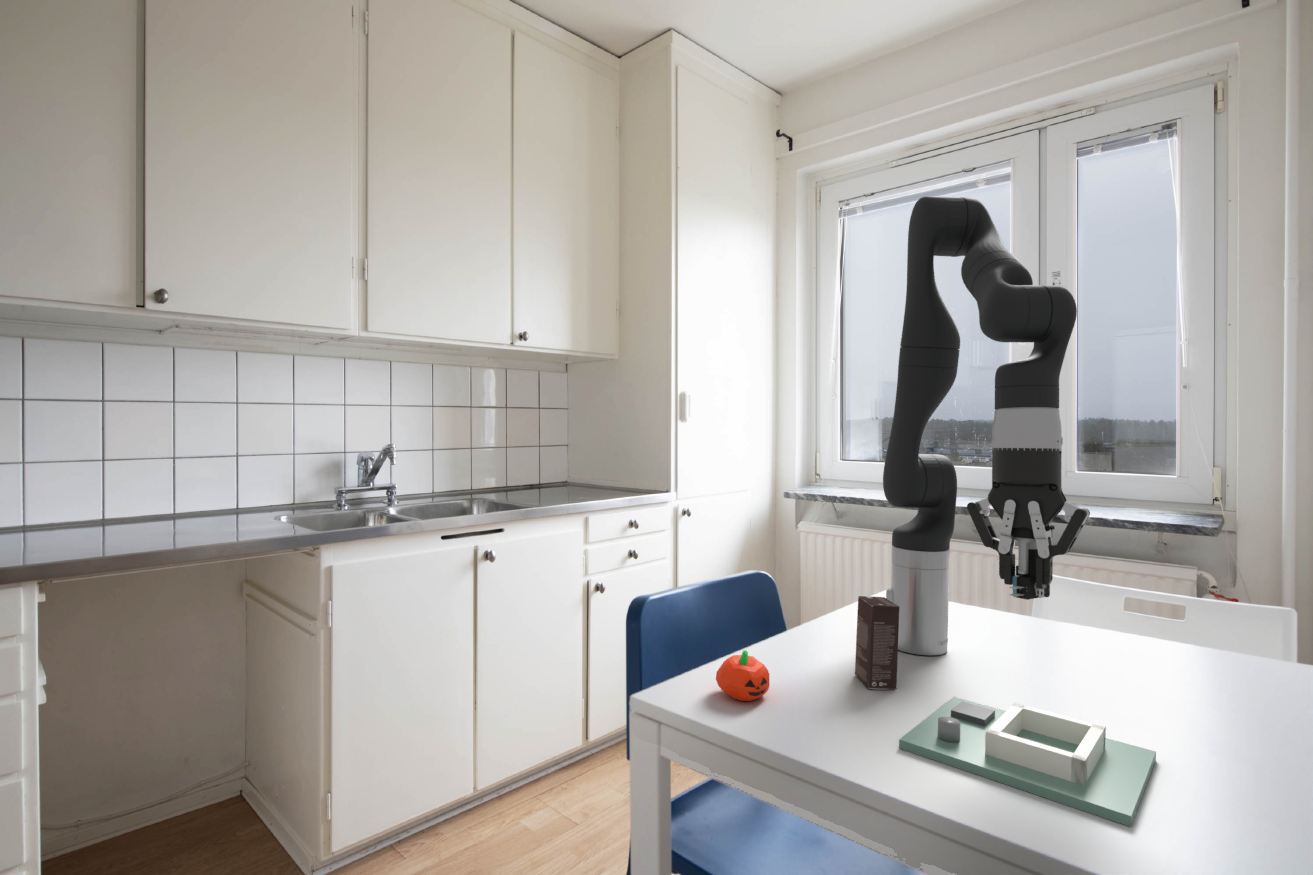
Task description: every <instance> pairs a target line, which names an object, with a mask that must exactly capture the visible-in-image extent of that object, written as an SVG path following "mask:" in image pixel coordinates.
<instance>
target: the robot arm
mask: <svg viewBox="0 0 1313 875" xmlns="http://www.w3.org/2000/svg"><path fill="white" fill-rule="evenodd" d="M908 224H909V225H908V232H907V254H906V255H907V260H906V264H907V266H906V268H907V270H906V291H905V292H906V295H905V305H904V314H903V323H902V331H901V338H900V346H899V354H898V355H899V356H898V365H897V367H898V368H897V382H896V383H897V384H896V393H895V401H894V409H893V410H894V412H893V418H892V422H891V423H892V424H891V430H890V434H889V439H888V444H887V450H886V455H885V460H884V466H883V474H882V475H883V476H882V487H883V492H884V497H885V498H886V501H887V502H888V503H889V504H890V505H891V506H892V507H896V508H902V509H903V508H904V509H906V508H907V509H909V508H910V509H913V508H914V509H915V508H918V510H917V514H916V515H915V516H914V517H913V518H912V519H911V520H910V521H908V522H906V523H904V524H902V525H900V526H897V527H896V528H894V529H893V530H892V534H891V574H890V575H891V576H890V580H891V581H890V588H888V589H886V593H885V598H886V599H888V600H889V601H891V602H892V603H894V604H896V605H898V606H899V607H900V608H899V632H898V651H901V652H903V653H908V654H914V655H918V656H940V655H944V654H947V652H948V642H949V636H948V635H949V634H948V633H949V632H948V631H949V601H950V600H949V596H950V593H949V589H950V588H949V587H950V586H949V585H950V553H951V552H950V549H951V545H950V544H951V539H952V536H953V534H954V529H955V520H956V518H955V517H956V508H957V497H958V496H957V493H958V477H957V472H956V468H955V465H954V464H953V462H952V461H951V459H950V458H949V457H948V456H946V455H943V454H939V453H938V454H935V453H934V454H933V453H920V447H921V442H922V437H923V435H924V431H925V430H926V426H927V425H928V422H929V420H930V419H931V417H932V415H933V414H934V413H935V411H936V410H938V409H937V408H938V407H939V406H940V405H941V403H942V402H943V400H944V399H945V398H946V396H947V395H948V393H949V392H950V390H951V389H952V387H953V386H954V383H955V381H956V378H957V376H958V375H957V374H958V368H959V367H958V366H959V359H960V348H961V335H960V333H959V329H958V328H957V325H956V323H955V320H954V319H953V317H952V314H951V313H950V310H949V309H948V307H947V306H946V304H945V302H944V300H943V298H942V296H941V293H940V291H939V289H938V286H937V283H936V277H935V269H934V268H935V267H934V265H935V264H934V258H935V257H952V258H956V257H958V258H959V257H964V258H963V260H962V263H961V268H960V272H961V273H960V274H961V279H962V283H963V284H964V286H965V287H966V289H967V291H968V292H969V293H970V294H971V296H972V297H973V298H974V300H975V301H976V305H977V308H978V316H979V318H978V319H979V320H978V321H979V322H978V323H979V327H980V330H981V333H982V334H984V335H985V336H986V337H987V338H989V339H990V340H992V341H994V342H999V343H1033V349H1032V351H1031V353H1030V354H1029V355H1028V357H1027V358H1025V359H1019V360H1015V361H1014V360H1013V361H1009V362H1005V363H1003V364H1001V365H1000V366H998V368H997V369H996V371H995V374H994V375H995V377H994V416H993V422H992V428H991V429H992V433H991V434H992V436H991V437H992V438H991V439H992V440H991V441H992V442H991V445H992V447H991V453H992V454H991V459H992V460H991V464H992V465H991V488H990V491H989V493H988V494H987V497H986V498H983V499H980V500H978V501H972V502H969V503H967V505H966V508H967V511H968V513H969V515H970V517H971V521H972V523H973V524H974V527H975V529H976V531H977V533H978V536H979V538H980V540H981V543H983V546H984V547H986V548H990V549H992V550H994V551H996V552H997V553H998V557H999V558H998V560H999V561H998V563H999V564H998V566H999V567H998V576H999V577H1000V579H1001V580H1003V581H1004V585H1008V586H1013V581H1012V578H1013V576H1015V575H1016V553H1014V550H1015V544H1016V540H1015V537H1012V536H1014V531H1015V530H1013V527H1014V528H1018V527H1027V528H1030V529H1033V534H1034V538H1035V540H1036V544H1037V550H1038V554H1039V557H1038V558H1036V588H1037V589H1045V588H1046V586H1047V585H1049V584H1050V585H1051V583H1052V581H1053V574H1054V573H1053V570H1054V568H1053V566H1054V565H1053V563H1054V562H1053V561H1054V560H1053V559H1054V558H1055V557H1056V556H1063V555H1066V554H1067V553H1070V552H1071V550H1072V549H1073V546H1074V545H1075V543H1076V541H1077V539H1078V537H1079V535H1080V533H1081V532H1082V530H1083V528H1084V527H1085V524H1086V522H1087V521H1088V519H1089V517H1090V515H1091V512H1090V510H1089V509H1088V508H1086V507H1079V506H1077V505H1075V504H1073V503H1071V502H1068V501H1067V498H1066V496H1065V494H1064V491H1063V488H1062V454H1063V453H1062V451H1063V450H1062V447H1063V444H1064V443H1063V434H1062V422H1061V414H1060V376H1061V370H1062V367H1063V364H1064V360H1065V357H1066V352H1067V350H1068V346H1069V343H1070V340H1071V337H1072V334H1073V331H1074V327H1075V323H1076V321H1077V314H1078V313H1077V312H1078V310H1077V309H1078V308H1077V303H1076V300H1075V298H1074V296H1073V295H1072V293H1071V292H1070V290H1068V289H1067V288H1066V287H1064V286H1062V285H1052V284H1051V285H1050V284H1048V285H1047V284H1046V285H1043V284H1042V285H1038V284H1037V285H1036V284H1035V285H1034V283H1033V278H1032V275H1031V273H1030V272H1029V270H1028V269H1027V268H1026V266H1024V264H1023V263H1022V262H1021V261H1020V260H1018V258H1017V257H1016V256H1015V255H1014V254H1013V253H1012V252H1010V250H1009V249H1008V248H1007V247H1006V245H1005V244H1004V242H1003V240H1002V238H1001V236H1000V233H999V231H998V229H997V226H996V224H995V223H994V221H993V219H992V215H991V214H990V213H989V210H988V208H987V207H986V206H985V205H984V203H982V202H981V201H980V200H978V199H976V198H972V197H961V196H944V195H943V196H942V195H941V196H938V195H936V196H935V195H926V196H922V197H920V198H919V199H918V200H917V201H916V202H915V204H914V206H913V207H912V210H911V215H910V218H909V222H908ZM991 507H992V508H993V510H994V511H995V512H996V514H997V516H999V518H1000V519H1001V525H1000V530H999V531H1000V532H999V533H1000V534H999V535H1000V537H999V538H998V536H997V534H996V531H995V529H994V526H993V525H992V523H991V521H990V519H989V517H988V516H989V515H990V514H991V509H990V508H991ZM1062 510H1063V511H1064V516H1063V518H1064V521H1065V522H1066V523H1067V525H1066V527H1065V528H1064V530H1063V532H1062V534H1061V536H1060V538H1059V540H1058V542H1057V543H1056V544H1054V543H1053V539H1052V538H1053V531H1052V532H1051V530H1048V531H1046V530H1045V527H1050V525H1051V523H1052V522H1053V521H1054V519H1055V518H1056V517H1057V516H1058V515H1059V514H1060V513H1061V511H1062ZM1007 525H1008V527H1007Z"/></svg>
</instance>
